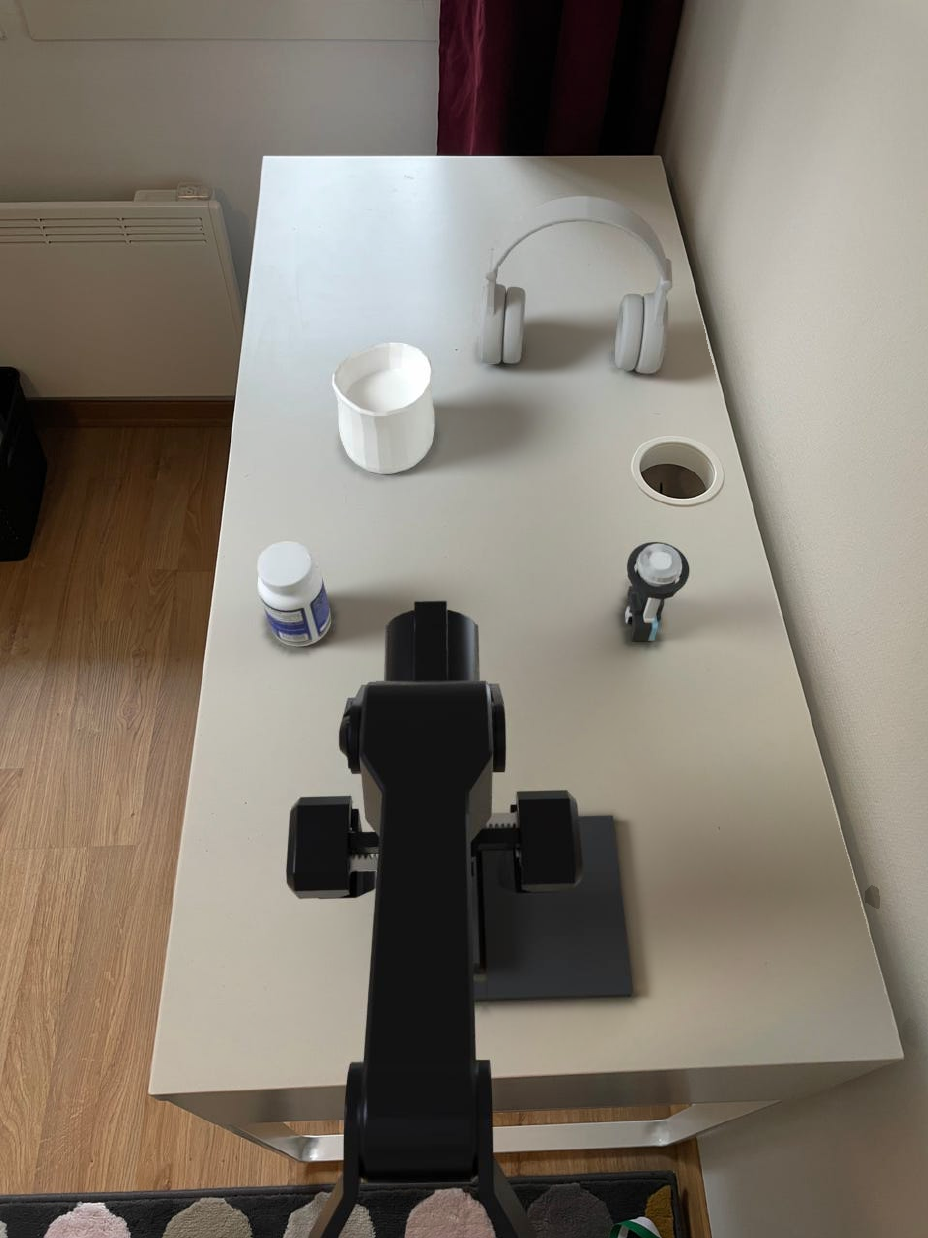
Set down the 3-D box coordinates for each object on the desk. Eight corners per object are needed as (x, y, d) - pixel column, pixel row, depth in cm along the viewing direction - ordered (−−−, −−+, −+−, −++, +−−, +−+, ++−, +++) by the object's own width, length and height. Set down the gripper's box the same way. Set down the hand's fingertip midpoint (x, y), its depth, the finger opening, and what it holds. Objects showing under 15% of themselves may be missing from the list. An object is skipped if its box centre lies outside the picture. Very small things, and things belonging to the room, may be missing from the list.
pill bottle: (309, 586, 92) (293, 524, 83) (344, 626, 90) (332, 566, 81) (258, 618, 90) (238, 558, 81) (293, 660, 88) (275, 602, 79)
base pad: (630, 997, 73) (633, 994, 72) (394, 1004, 73) (393, 1002, 71) (610, 820, 80) (612, 815, 79) (395, 826, 80) (395, 821, 79)
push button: (608, 585, 92) (624, 523, 84) (663, 584, 92) (685, 522, 84) (615, 645, 89) (633, 587, 80) (673, 644, 89) (696, 586, 80)
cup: (326, 460, 100) (314, 393, 92) (371, 396, 105) (363, 327, 96) (407, 490, 98) (403, 425, 90) (449, 424, 103) (449, 356, 94)
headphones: (655, 336, 110) (690, 184, 93) (657, 390, 105) (694, 240, 89) (481, 326, 110) (485, 173, 94) (476, 379, 106) (479, 228, 89)
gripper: (579, 678, 60) (556, 771, 74) (281, 685, 60) (313, 777, 73) (597, 852, 54) (569, 918, 68) (268, 861, 54) (305, 926, 67)
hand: (437, 879), depth 69 cm, fingers open, 9 cm apart
